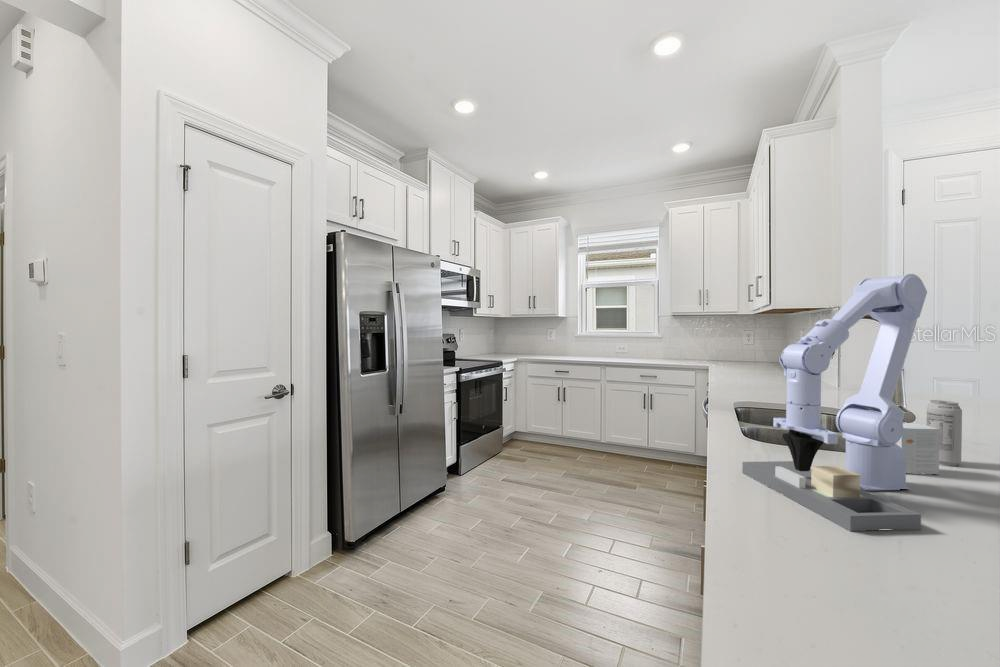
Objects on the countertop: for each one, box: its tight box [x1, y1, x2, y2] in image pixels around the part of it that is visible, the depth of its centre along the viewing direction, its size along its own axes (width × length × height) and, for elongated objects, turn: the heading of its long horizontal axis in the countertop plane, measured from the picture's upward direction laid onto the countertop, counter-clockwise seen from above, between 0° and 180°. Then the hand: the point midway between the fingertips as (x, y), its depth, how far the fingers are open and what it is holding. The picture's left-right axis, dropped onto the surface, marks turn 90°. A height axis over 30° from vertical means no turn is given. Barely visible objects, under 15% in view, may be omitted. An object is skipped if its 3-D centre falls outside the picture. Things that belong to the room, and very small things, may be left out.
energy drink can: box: [925, 399, 963, 467], centre depth 105 cm, size 6×6×15 cm
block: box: [811, 465, 861, 498], centre depth 79 cm, size 5×5×4 cm
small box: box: [895, 422, 940, 475], centre depth 99 cm, size 8×6×10 cm
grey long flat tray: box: [741, 460, 922, 532], centre depth 83 cm, size 12×28×4 cm, turn 3°
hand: (802, 470), depth 87 cm, fingers closed
